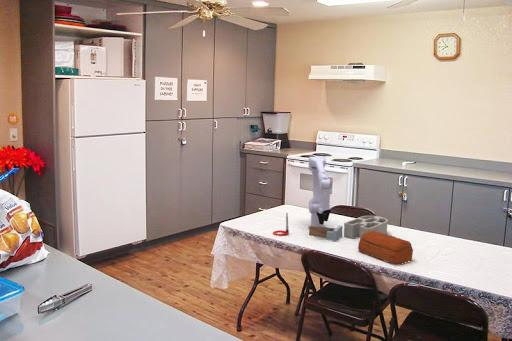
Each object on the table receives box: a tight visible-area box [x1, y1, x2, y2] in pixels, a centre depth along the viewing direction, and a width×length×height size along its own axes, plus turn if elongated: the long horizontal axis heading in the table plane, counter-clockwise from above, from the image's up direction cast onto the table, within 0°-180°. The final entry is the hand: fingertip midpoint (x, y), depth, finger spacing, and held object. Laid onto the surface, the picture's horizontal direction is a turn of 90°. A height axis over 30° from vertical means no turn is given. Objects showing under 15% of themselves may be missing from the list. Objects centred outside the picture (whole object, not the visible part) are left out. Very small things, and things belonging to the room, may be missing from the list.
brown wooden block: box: [308, 224, 335, 239], centre depth 282 cm, size 4×14×5 cm, turn 63°
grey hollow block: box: [343, 215, 389, 240], centre depth 285 cm, size 17×28×9 cm, turn 138°
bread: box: [357, 231, 414, 265], centre depth 250 cm, size 16×27×11 cm, turn 36°
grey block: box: [326, 225, 344, 242], centre depth 278 cm, size 12×6×6 cm, turn 153°
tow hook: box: [272, 212, 290, 237], centre depth 284 cm, size 8×13×9 cm
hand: (323, 222), depth 281 cm, fingers open, 7 cm apart
